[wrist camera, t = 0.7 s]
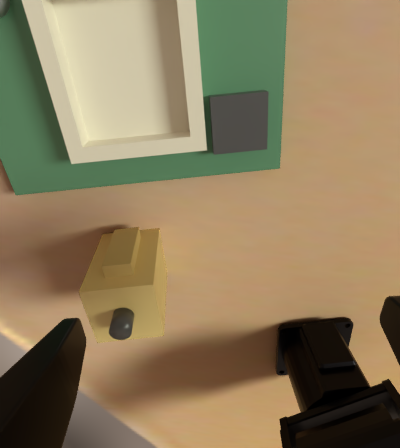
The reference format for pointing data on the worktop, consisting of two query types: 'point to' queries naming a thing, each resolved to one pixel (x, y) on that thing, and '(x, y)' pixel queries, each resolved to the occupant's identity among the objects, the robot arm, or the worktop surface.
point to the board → (138, 90)
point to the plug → (126, 286)
